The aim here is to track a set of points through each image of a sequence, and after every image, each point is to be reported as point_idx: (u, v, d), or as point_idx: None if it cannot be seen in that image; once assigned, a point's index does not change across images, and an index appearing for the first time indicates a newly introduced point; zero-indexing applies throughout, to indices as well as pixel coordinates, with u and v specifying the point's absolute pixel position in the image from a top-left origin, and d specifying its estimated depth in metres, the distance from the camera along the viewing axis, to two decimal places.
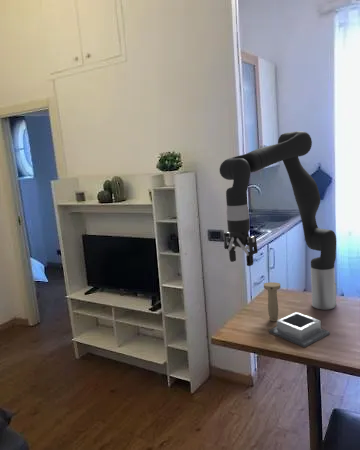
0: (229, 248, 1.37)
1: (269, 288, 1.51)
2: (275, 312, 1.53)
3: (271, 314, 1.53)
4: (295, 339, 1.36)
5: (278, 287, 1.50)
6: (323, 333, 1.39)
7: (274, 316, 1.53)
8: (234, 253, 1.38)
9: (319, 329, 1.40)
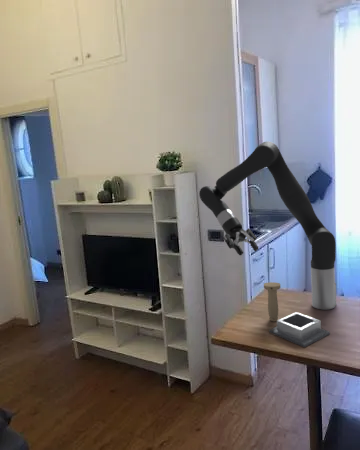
0: None
1: (269, 288, 1.51)
2: (275, 312, 1.53)
3: (271, 314, 1.53)
4: (295, 339, 1.36)
5: (278, 287, 1.50)
6: (323, 333, 1.39)
7: (274, 316, 1.53)
8: (253, 244, 1.63)
9: (319, 329, 1.40)
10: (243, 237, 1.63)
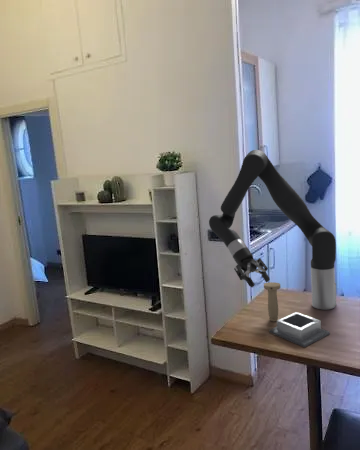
0: None
1: (269, 288, 1.51)
2: (275, 312, 1.53)
3: (271, 314, 1.53)
4: (295, 339, 1.36)
5: (278, 287, 1.50)
6: (323, 333, 1.39)
7: (274, 316, 1.53)
8: (264, 274, 1.61)
9: (319, 329, 1.40)
10: (254, 268, 1.61)
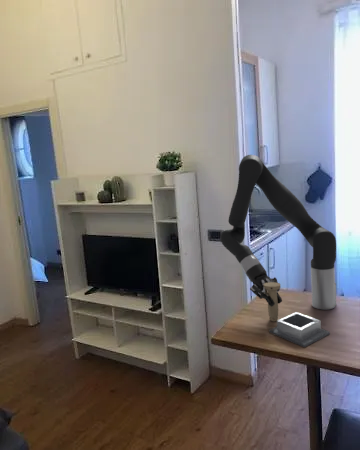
0: None
1: (269, 288, 1.51)
2: (275, 312, 1.53)
3: (271, 314, 1.53)
4: (295, 339, 1.36)
5: (278, 287, 1.50)
6: (323, 333, 1.39)
7: (274, 316, 1.53)
8: None
9: (319, 329, 1.40)
10: None
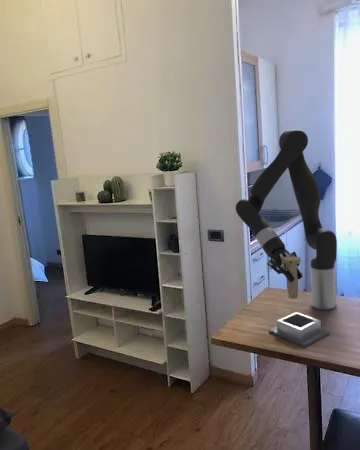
0: None
1: (288, 262, 1.38)
2: (294, 289, 1.40)
3: (290, 291, 1.40)
4: (295, 339, 1.36)
5: (299, 260, 1.37)
6: (323, 333, 1.39)
7: (294, 293, 1.40)
8: None
9: (319, 329, 1.40)
10: None
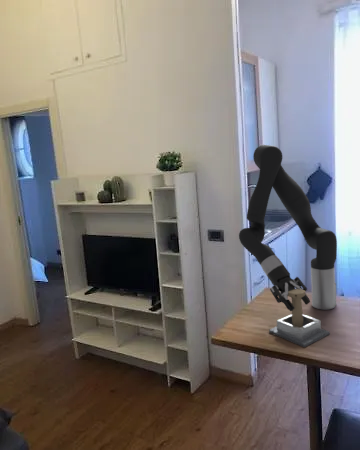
0: None
1: (293, 295, 1.38)
2: (299, 322, 1.40)
3: (295, 324, 1.41)
4: (295, 339, 1.36)
5: (303, 294, 1.38)
6: (323, 333, 1.39)
7: (299, 326, 1.41)
8: None
9: (319, 329, 1.40)
10: (292, 288, 1.43)
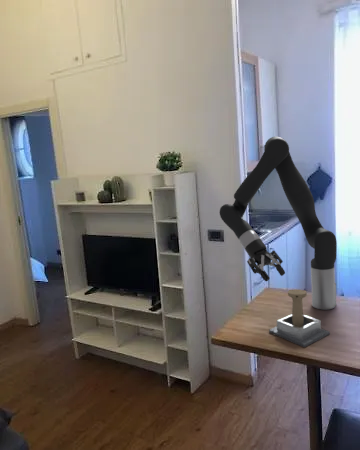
0: None
1: (294, 296, 1.38)
2: (300, 322, 1.40)
3: (296, 324, 1.41)
4: (295, 339, 1.36)
5: (305, 294, 1.37)
6: (323, 333, 1.39)
7: (299, 326, 1.40)
8: (279, 268, 1.50)
9: (319, 329, 1.40)
10: (268, 261, 1.50)
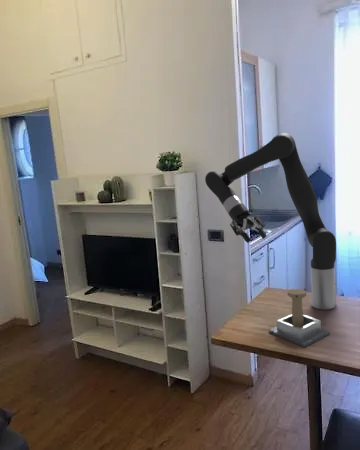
0: None
1: (294, 296, 1.38)
2: (300, 322, 1.40)
3: (296, 324, 1.41)
4: (295, 339, 1.36)
5: (304, 294, 1.38)
6: (323, 333, 1.39)
7: (299, 326, 1.40)
8: (261, 231, 1.57)
9: (319, 329, 1.40)
10: (250, 224, 1.56)
